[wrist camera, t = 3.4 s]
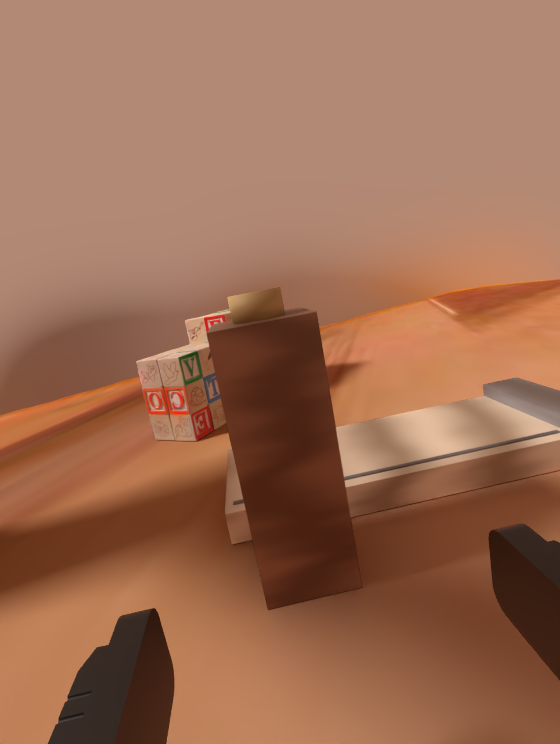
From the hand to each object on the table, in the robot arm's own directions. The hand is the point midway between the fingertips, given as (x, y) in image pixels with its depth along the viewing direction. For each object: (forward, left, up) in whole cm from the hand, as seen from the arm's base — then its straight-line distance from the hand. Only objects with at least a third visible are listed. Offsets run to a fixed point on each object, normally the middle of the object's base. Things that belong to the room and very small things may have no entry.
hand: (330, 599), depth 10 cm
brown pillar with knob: (-8, +7, -7) cm, 13 cm away
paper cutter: (-6, +16, -7) cm, 19 cm away
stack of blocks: (-37, +25, -7) cm, 45 cm away
